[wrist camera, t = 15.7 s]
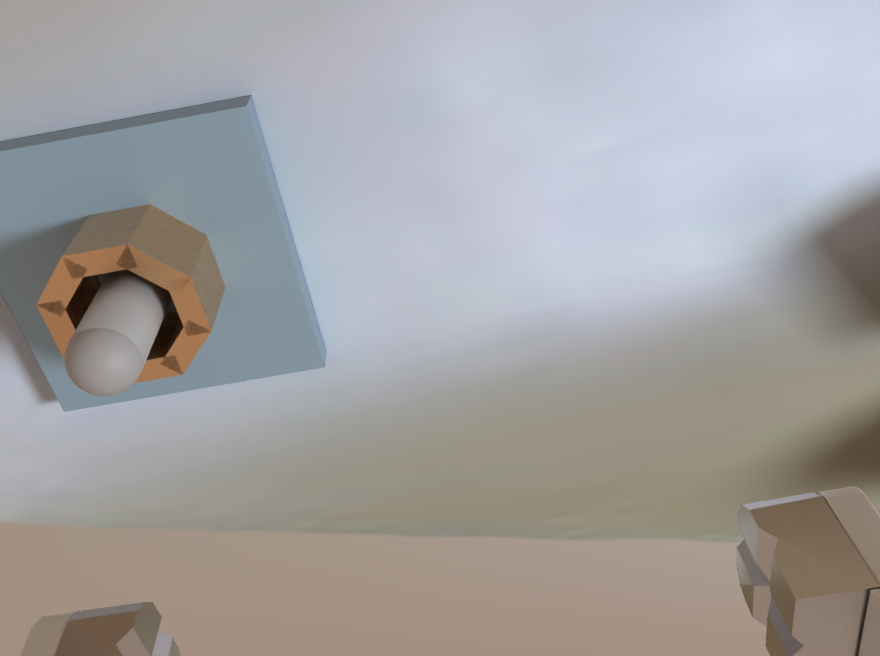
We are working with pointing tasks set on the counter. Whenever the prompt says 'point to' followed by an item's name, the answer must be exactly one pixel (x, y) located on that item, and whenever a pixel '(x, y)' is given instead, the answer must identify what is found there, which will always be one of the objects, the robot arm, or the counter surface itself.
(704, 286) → the counter surface
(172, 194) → the post base
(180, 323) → the copper ring
